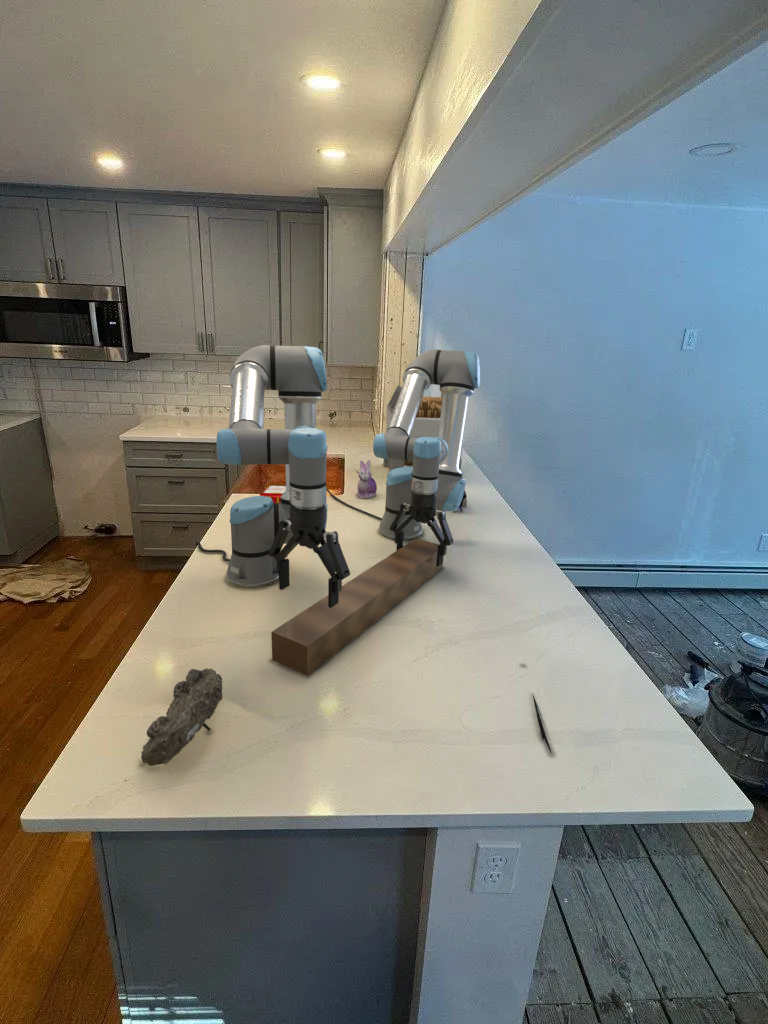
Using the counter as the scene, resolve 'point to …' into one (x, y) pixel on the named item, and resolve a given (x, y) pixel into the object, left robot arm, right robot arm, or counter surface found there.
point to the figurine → (366, 481)
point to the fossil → (183, 716)
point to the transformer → (418, 423)
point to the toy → (274, 493)
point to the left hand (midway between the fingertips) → (308, 596)
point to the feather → (541, 724)
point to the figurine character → (463, 501)
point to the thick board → (353, 608)
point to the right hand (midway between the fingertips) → (418, 559)
